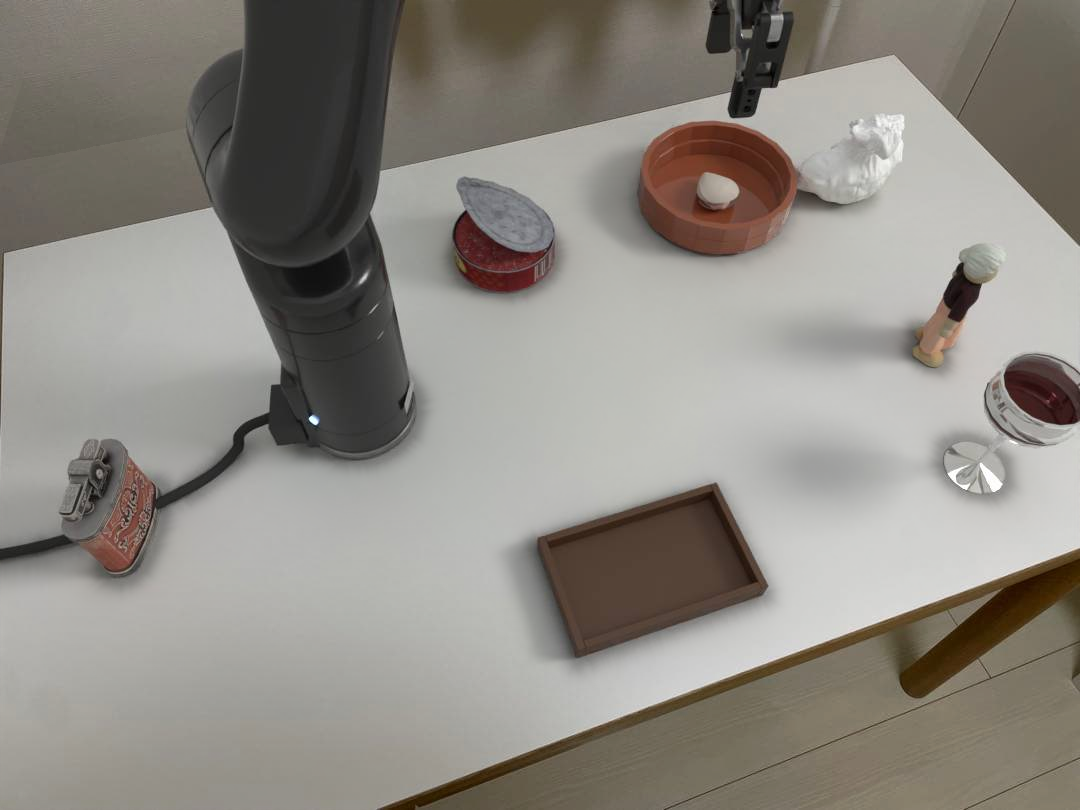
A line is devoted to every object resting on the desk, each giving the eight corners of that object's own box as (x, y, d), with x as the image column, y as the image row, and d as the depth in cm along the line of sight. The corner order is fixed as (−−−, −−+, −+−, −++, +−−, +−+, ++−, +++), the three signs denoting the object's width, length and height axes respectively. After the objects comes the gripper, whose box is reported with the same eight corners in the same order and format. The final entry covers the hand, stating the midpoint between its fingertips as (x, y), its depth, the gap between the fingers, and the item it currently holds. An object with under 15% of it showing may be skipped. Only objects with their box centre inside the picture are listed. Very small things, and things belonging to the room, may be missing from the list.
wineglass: (1013, 514, 69) (1097, 440, 59) (928, 488, 70) (996, 411, 60) (1018, 446, 72) (1098, 365, 62) (937, 422, 73) (1002, 339, 63)
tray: (576, 658, 62) (578, 650, 60) (536, 547, 67) (537, 537, 65) (762, 595, 65) (768, 586, 63) (712, 493, 69) (716, 481, 68)
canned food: (477, 254, 89) (482, 159, 84) (566, 274, 87) (577, 177, 82) (426, 288, 80) (428, 183, 75) (524, 312, 77) (533, 204, 72)
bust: (787, 221, 89) (850, 203, 78) (769, 150, 88) (830, 121, 77) (884, 193, 92) (958, 171, 81) (867, 123, 91) (940, 92, 80)
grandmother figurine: (953, 379, 76) (1023, 287, 65) (909, 372, 76) (972, 279, 66) (948, 314, 80) (1013, 216, 69) (907, 307, 80) (965, 209, 70)
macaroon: (703, 219, 85) (708, 201, 83) (683, 186, 88) (687, 167, 86) (742, 209, 86) (747, 191, 84) (721, 177, 89) (725, 158, 87)
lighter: (128, 483, 69) (72, 420, 61) (169, 484, 69) (119, 421, 61) (97, 577, 65) (33, 522, 57) (141, 578, 65) (83, 524, 57)
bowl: (652, 263, 83) (657, 234, 80) (625, 156, 91) (629, 125, 88) (804, 250, 84) (816, 222, 81) (765, 146, 92) (773, 115, 89)
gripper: (698, -165, 62) (669, 34, 76) (744, -58, 55) (703, 142, 68) (798, -171, 62) (751, 29, 76) (857, -65, 55) (793, 135, 69)
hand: (728, 82), depth 72 cm, fingers open, 8 cm apart
